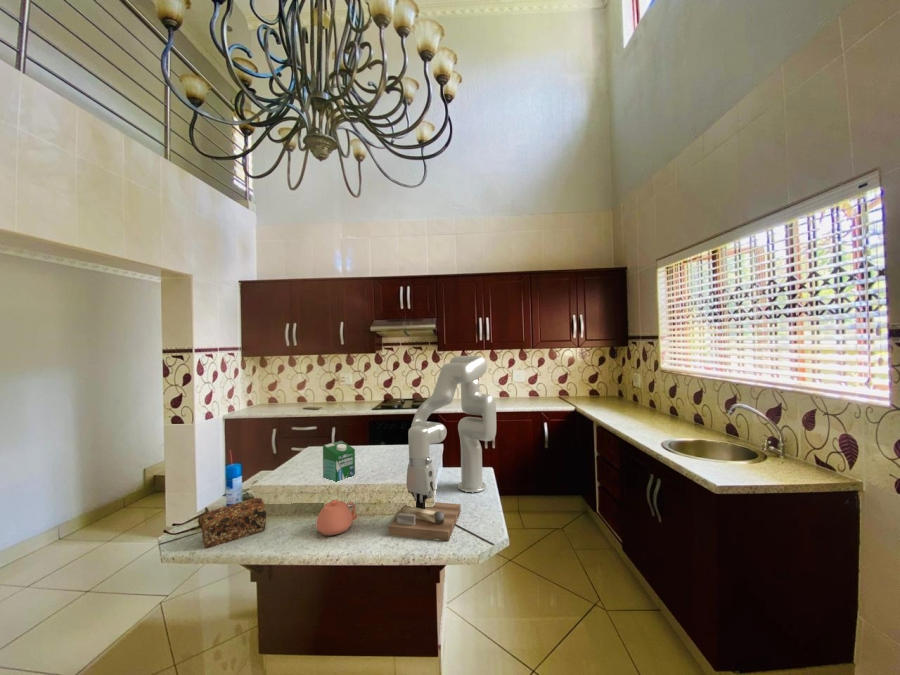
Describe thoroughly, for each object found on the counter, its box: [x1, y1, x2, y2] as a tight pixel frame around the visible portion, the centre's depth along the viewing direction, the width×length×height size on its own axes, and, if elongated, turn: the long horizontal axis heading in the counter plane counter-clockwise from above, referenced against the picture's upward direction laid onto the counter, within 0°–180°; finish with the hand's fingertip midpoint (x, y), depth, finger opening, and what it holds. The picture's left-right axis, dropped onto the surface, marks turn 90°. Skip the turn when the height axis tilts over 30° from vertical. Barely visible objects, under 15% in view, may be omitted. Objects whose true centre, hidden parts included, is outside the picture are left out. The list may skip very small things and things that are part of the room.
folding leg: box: [400, 504, 444, 524], centre depth 125 cm, size 17×3×3 cm, turn 64°
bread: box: [200, 497, 268, 550], centre depth 123 cm, size 19×11×10 cm, turn 128°
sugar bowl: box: [315, 500, 358, 536], centre depth 125 cm, size 12×14×10 cm
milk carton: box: [322, 440, 356, 482], centre depth 144 cm, size 9×9×25 cm
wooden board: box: [387, 501, 462, 542], centre depth 128 cm, size 21×21×6 cm
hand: (420, 511), depth 129 cm, fingers closed
